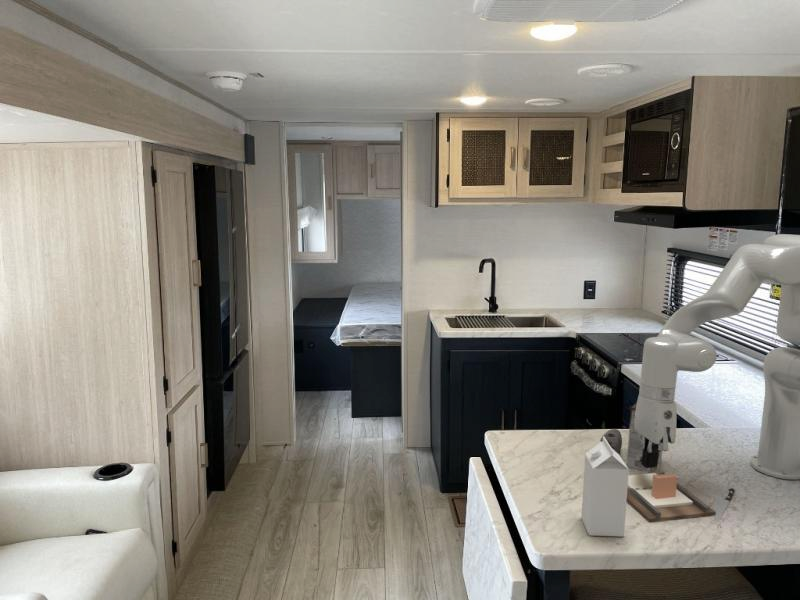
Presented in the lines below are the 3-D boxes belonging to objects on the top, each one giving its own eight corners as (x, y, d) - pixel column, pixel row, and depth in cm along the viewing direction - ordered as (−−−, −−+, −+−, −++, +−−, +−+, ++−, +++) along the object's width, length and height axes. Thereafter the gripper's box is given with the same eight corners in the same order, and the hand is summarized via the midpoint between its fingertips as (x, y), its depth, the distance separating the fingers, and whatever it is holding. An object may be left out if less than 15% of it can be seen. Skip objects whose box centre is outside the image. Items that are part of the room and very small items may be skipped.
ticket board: (663, 475, 152) (664, 467, 152) (715, 515, 134) (716, 506, 133) (604, 480, 149) (605, 473, 149) (649, 522, 131) (649, 513, 130)
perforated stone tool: (606, 443, 171) (608, 420, 170) (626, 447, 168) (628, 423, 167) (594, 464, 158) (596, 439, 157) (615, 468, 156) (617, 443, 154)
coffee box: (637, 454, 164) (641, 397, 161) (662, 461, 160) (667, 402, 157) (625, 466, 157) (629, 406, 154) (651, 473, 153) (656, 412, 150)
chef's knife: (701, 522, 132) (717, 527, 130) (702, 517, 131) (717, 522, 130) (721, 488, 146) (735, 491, 144) (721, 484, 146) (735, 487, 144)
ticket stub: (673, 489, 143) (675, 467, 142) (692, 504, 136) (695, 481, 135) (634, 493, 141) (636, 470, 140) (652, 508, 135) (654, 485, 134)
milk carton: (614, 519, 132) (620, 436, 129) (624, 537, 125) (630, 451, 122) (581, 517, 133) (586, 435, 129) (588, 536, 126) (594, 450, 122)
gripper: (692, 401, 133) (683, 480, 136) (652, 380, 148) (645, 452, 151) (661, 403, 132) (653, 482, 135) (624, 381, 146) (617, 453, 149)
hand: (649, 466), depth 143 cm, fingers closed
